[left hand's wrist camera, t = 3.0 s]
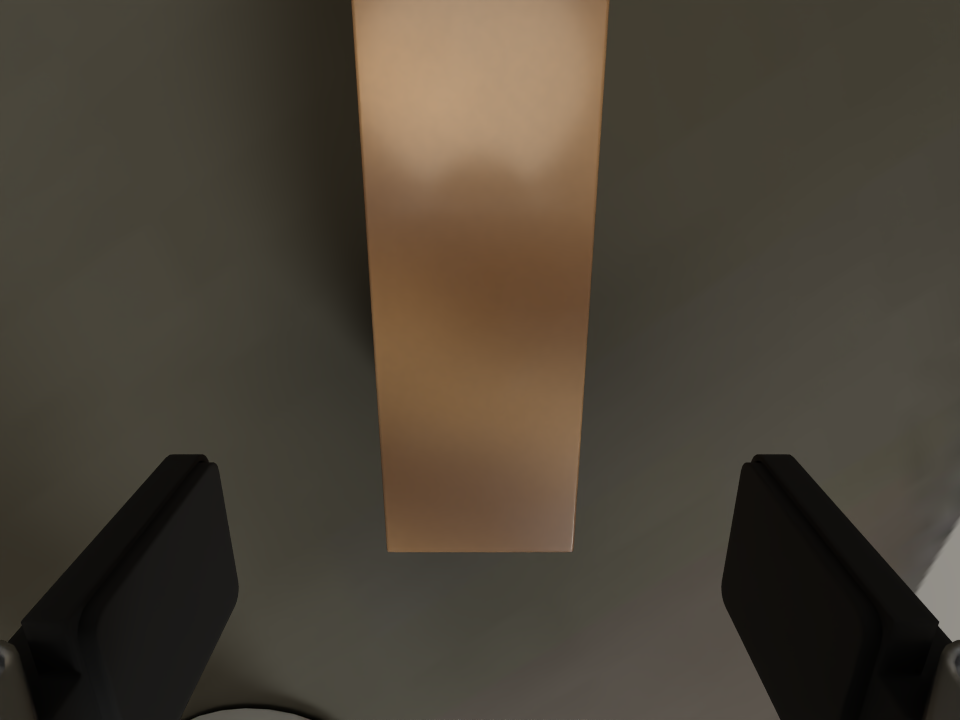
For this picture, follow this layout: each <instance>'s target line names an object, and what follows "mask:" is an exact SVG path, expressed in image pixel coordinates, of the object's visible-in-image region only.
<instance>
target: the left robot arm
mask: <svg viewBox="0 0 960 720" xmlns="http://www.w3.org/2000/svg"><path fill="white" fill-rule="evenodd" d="M238 588H239V586H238V578H237V572H236V567H235V561H234V555H233V549H232V543H231V538H230V532H229V526H228V520H227V515H226V509H225V503H224V497H223V492H222V486H221V480H220V474H219V469H218V466H217V465H216V464H215V463H209V461H208V459H207V457H206V456H205V455H203V454H173V455H169V456H168V457H166V458H165V459H164V461H163V462H162V463H161V464H160V465H159V466H158V467H157V468H156V470H155V471H154V472H153V473H152V474H151V475H150V476H149V477H148V479H147V480H146V481H145V482H144V483H143V484H142V485H141V487H140V488H139V489H138V490H137V491H136V492H135V493H134V494H133V496H132V497H131V498H130V499H129V500H128V501H127V502H126V503H125V505H124V506H123V507H122V508H121V509H120V510H119V511H118V512H117V514H116V515H115V516H114V517H113V518H112V519H111V520H110V522H109V523H108V524H107V525H106V526H105V527H104V528H103V529H102V531H101V532H100V533H99V534H98V535H97V536H96V537H95V538H94V540H93V541H92V542H91V543H90V544H89V545H88V546H87V548H86V549H85V550H84V551H83V552H82V553H81V554H80V555H79V557H78V558H77V559H76V560H75V561H74V562H73V563H72V564H71V566H70V567H69V568H68V569H67V570H66V571H65V572H64V573H63V575H62V576H61V577H60V578H59V579H58V580H57V581H56V583H55V584H54V585H53V586H52V587H51V588H50V589H49V590H48V592H47V593H46V594H45V595H44V596H43V597H42V598H41V599H40V601H39V602H38V603H37V604H36V605H35V606H34V607H33V609H32V610H31V611H30V612H29V613H28V614H27V615H26V616H25V618H24V619H23V620H22V621H21V624H22V626H21V628H20V629H19V630H18V631H17V632H16V633H15V634H14V636H13V637H12V638H11V639H10V640H9V641H8V642H6V641H4V640H0V720H180V718H181V716H182V713H183V711H184V709H185V707H186V705H187V703H188V701H189V699H190V697H191V695H192V693H193V691H194V689H195V687H196V685H197V683H198V681H199V679H200V677H201V674H202V672H203V670H204V668H205V666H206V664H207V662H208V660H209V658H210V656H211V654H212V652H213V650H214V648H215V646H216V644H217V642H218V640H219V638H220V636H221V633H222V631H223V629H224V627H225V625H226V623H227V621H228V619H229V617H230V615H231V613H232V611H233V609H234V607H235V604H236V602H237V597H238ZM721 588H722V598H723V602H724V604H725V607H726V609H727V611H728V613H729V615H730V617H731V619H732V621H733V623H734V625H735V627H736V629H737V631H738V633H739V636H740V638H741V640H742V642H743V644H744V646H745V648H746V650H747V652H748V654H749V656H750V658H751V660H752V662H753V664H754V666H755V668H756V670H757V672H758V674H759V677H760V679H761V681H762V683H763V685H764V687H765V689H766V691H767V693H768V695H769V697H770V699H771V701H772V703H773V705H774V707H775V709H776V711H777V713H778V716H779V718H780V720H960V640H956V641H954V642H952V641H951V640H950V639H949V638H948V637H947V636H946V634H945V633H944V632H943V631H942V630H941V629H940V628H939V626H938V624H939V621H938V620H937V619H936V618H935V616H934V615H933V614H932V613H931V612H930V611H929V610H928V609H927V607H926V606H925V605H924V604H923V603H922V602H921V601H920V600H919V598H918V597H917V596H916V595H915V594H914V593H913V592H912V590H911V589H910V588H909V587H908V586H907V585H906V584H905V583H904V581H903V580H902V579H901V578H900V577H899V576H898V575H897V573H896V572H895V571H894V570H893V569H892V568H891V567H890V566H889V564H888V563H887V562H886V561H885V560H884V559H883V558H882V557H881V555H880V554H879V553H878V552H877V551H876V550H875V549H874V548H873V546H872V545H871V544H870V543H869V542H868V541H867V540H866V538H865V537H864V536H863V535H862V534H861V533H860V532H859V531H858V529H857V528H856V527H855V526H854V525H853V524H852V523H851V522H850V520H849V519H848V518H847V517H846V516H845V515H844V514H843V513H842V511H841V510H840V509H839V508H838V507H837V506H836V505H835V503H834V502H833V501H832V500H831V499H830V498H829V497H828V496H827V494H826V493H825V492H824V491H823V490H822V489H821V488H820V487H819V485H818V484H817V483H816V482H815V481H814V480H813V479H812V477H811V476H810V475H809V474H808V473H807V472H806V471H805V470H804V468H803V467H802V466H801V465H800V464H799V463H798V462H797V461H796V459H795V458H794V457H792V456H791V455H787V454H757V455H755V456H754V457H753V459H752V461H751V463H745V464H744V465H743V466H742V469H741V474H740V480H739V486H738V492H737V497H736V503H735V509H734V515H733V520H732V526H731V532H730V538H729V543H728V549H727V555H726V561H725V567H724V572H723V578H722V586H721ZM191 720H310V719H307V718H304V717H301V716H298V715H295V714H292V713H286V712H281V711H276V710H270V709H252V708H242V709H231V710H222V711H217V712H213V713H209V714H205V715H201V716H198V717H196V718H194V719H191Z"/></svg>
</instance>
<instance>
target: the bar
mask: <svg viewBox="0 0 960 720" xmlns="http://www.w3.org/2000/svg"><path fill="white" fill-rule="evenodd" d="M351 5H352V21H353V36H354V51H355V67H356V82H357V97H358V113H359V128H360V143H361V159H362V174H363V189H364V205H365V220H366V235H367V251H368V266H369V281H370V297H371V312H372V328H373V343H374V358H375V374H376V389H377V404H378V420H379V435H380V450H381V466H382V481H383V496H384V512H385V527H386V542H387V551H388V552H573V549H574V534H575V519H576V503H577V488H578V473H579V458H580V442H581V427H582V412H583V397H584V381H585V366H586V351H587V335H588V320H589V305H590V290H591V274H592V259H593V244H594V229H595V213H596V198H597V183H598V168H599V152H600V137H601V122H602V106H603V91H604V76H605V61H606V45H607V30H608V15H609V0H351Z"/></svg>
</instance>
